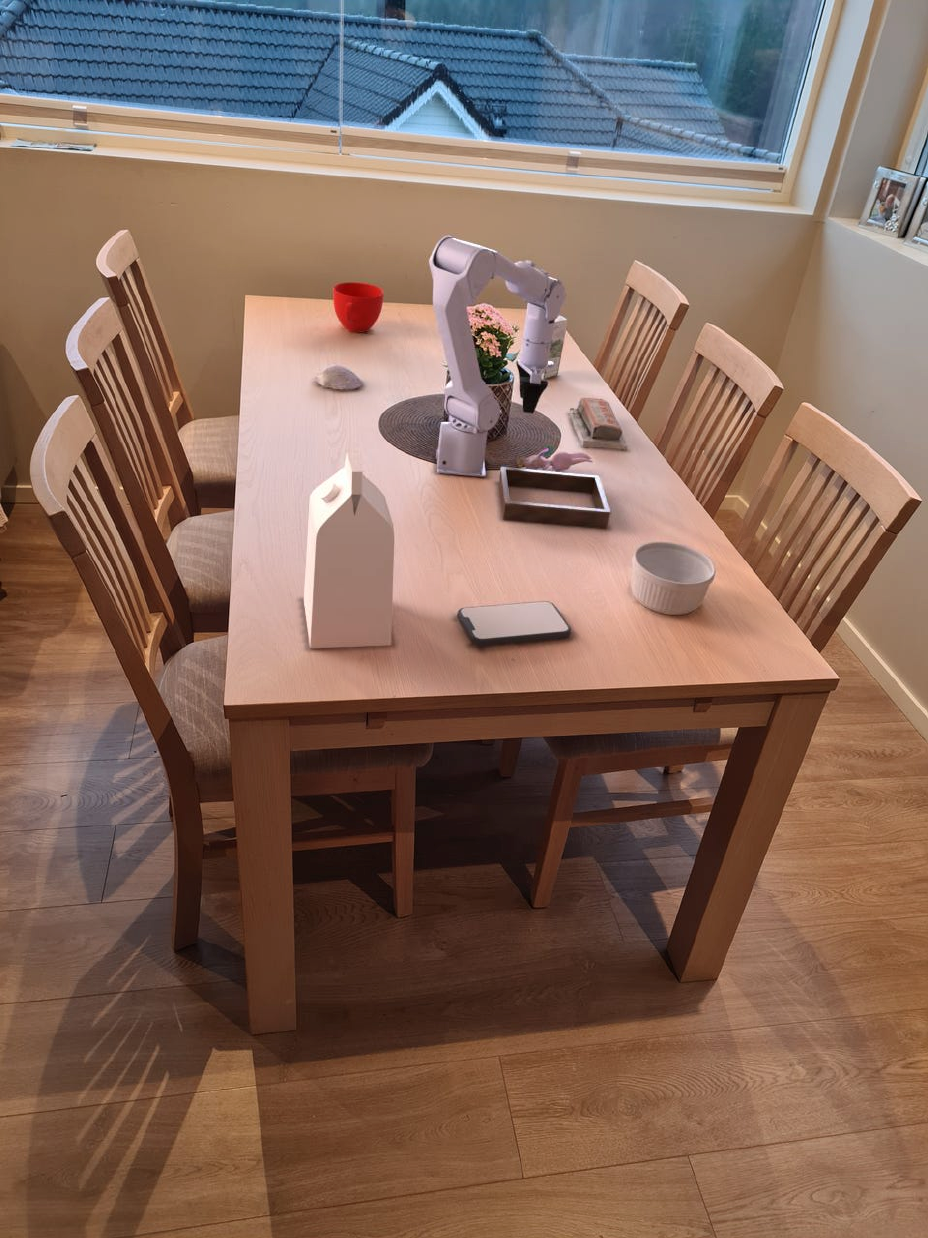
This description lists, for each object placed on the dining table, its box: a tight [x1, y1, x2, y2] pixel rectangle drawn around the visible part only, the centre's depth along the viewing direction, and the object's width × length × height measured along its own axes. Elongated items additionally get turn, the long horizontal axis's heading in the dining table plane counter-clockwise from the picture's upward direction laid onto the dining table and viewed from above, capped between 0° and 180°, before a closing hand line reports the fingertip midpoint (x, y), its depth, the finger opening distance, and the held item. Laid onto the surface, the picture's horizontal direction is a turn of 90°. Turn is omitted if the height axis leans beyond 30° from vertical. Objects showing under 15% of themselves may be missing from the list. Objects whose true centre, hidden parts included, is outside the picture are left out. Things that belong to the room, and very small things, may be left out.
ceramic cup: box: [332, 281, 385, 333], centre depth 243 cm, size 13×17×10 cm
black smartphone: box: [456, 600, 572, 648], centre depth 141 cm, size 9×2×16 cm
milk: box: [303, 451, 395, 649], centre depth 131 cm, size 12×12×26 cm
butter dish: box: [569, 397, 628, 451], centre depth 206 cm, size 18×5×10 cm
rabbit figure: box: [516, 444, 593, 472], centre depth 187 cm, size 6×6×15 cm
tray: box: [498, 466, 612, 530], centre depth 175 cm, size 19×15×4 cm
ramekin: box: [630, 540, 716, 616], centre depth 152 cm, size 13×13×7 cm
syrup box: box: [541, 315, 569, 380], centre depth 230 cm, size 6×6×14 cm
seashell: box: [314, 364, 362, 391], centre depth 213 cm, size 10×6×10 cm
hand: (526, 404), depth 191 cm, fingers open, 7 cm apart
